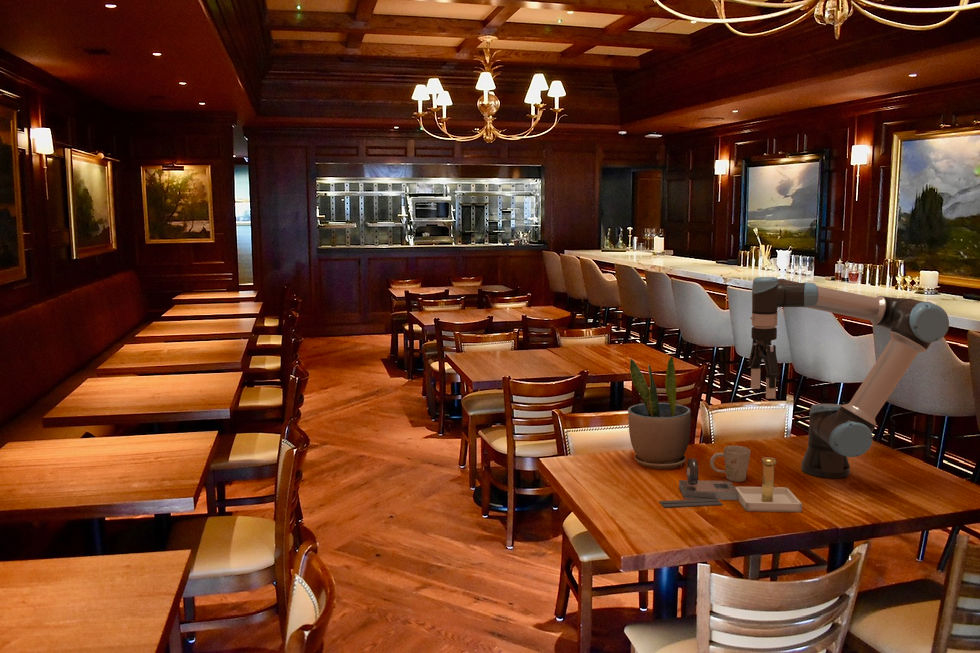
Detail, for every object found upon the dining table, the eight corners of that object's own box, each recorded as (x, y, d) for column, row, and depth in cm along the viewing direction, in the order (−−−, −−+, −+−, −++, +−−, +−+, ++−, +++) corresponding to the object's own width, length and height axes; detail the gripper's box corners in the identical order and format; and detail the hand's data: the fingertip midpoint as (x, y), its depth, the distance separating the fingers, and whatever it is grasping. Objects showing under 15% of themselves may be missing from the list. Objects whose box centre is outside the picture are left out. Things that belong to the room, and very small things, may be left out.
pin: (772, 498, 240) (774, 457, 238) (776, 503, 236) (778, 461, 234) (757, 498, 241) (759, 456, 239) (761, 503, 236) (763, 461, 235)
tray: (786, 495, 245) (787, 487, 245) (801, 512, 231) (802, 503, 231) (734, 494, 246) (734, 486, 245) (745, 511, 232) (746, 502, 232)
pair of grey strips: (716, 499, 241) (716, 498, 241) (722, 505, 237) (722, 504, 237) (659, 502, 239) (659, 501, 239) (664, 507, 235) (664, 506, 234)
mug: (750, 483, 255) (752, 453, 254) (710, 481, 258) (711, 451, 256) (747, 475, 263) (749, 446, 262) (708, 473, 266) (709, 444, 264)
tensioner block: (730, 488, 251) (731, 455, 249) (738, 500, 241) (739, 465, 239) (679, 487, 252) (680, 454, 250) (684, 499, 242) (686, 464, 240)
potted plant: (614, 462, 278) (616, 349, 272) (652, 450, 291) (655, 342, 286) (663, 477, 262) (666, 357, 256) (701, 463, 276) (705, 350, 270)
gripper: (739, 321, 260) (738, 385, 263) (766, 333, 235) (765, 402, 238) (762, 321, 260) (760, 384, 263) (791, 332, 235) (789, 402, 238)
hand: (762, 393), depth 251 cm, fingers open, 13 cm apart
